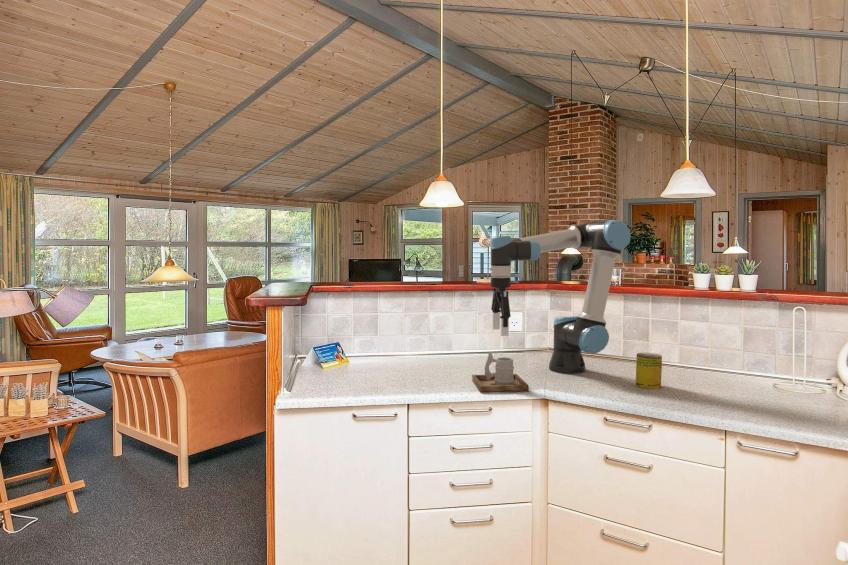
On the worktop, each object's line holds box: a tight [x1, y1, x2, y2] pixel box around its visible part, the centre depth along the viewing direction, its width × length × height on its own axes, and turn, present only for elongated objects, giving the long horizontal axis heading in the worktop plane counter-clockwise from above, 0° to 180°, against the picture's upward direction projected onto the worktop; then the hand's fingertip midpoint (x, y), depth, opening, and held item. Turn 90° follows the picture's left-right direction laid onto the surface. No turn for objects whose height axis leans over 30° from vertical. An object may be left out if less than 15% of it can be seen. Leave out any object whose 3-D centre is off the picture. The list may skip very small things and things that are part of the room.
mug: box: [484, 351, 515, 385], centre depth 213 cm, size 8×12×12 cm, turn 68°
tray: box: [471, 373, 530, 394], centre depth 212 cm, size 18×17×2 cm
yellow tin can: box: [635, 352, 663, 390], centre depth 212 cm, size 9×9×12 cm
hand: (500, 332), depth 211 cm, fingers open, 13 cm apart
